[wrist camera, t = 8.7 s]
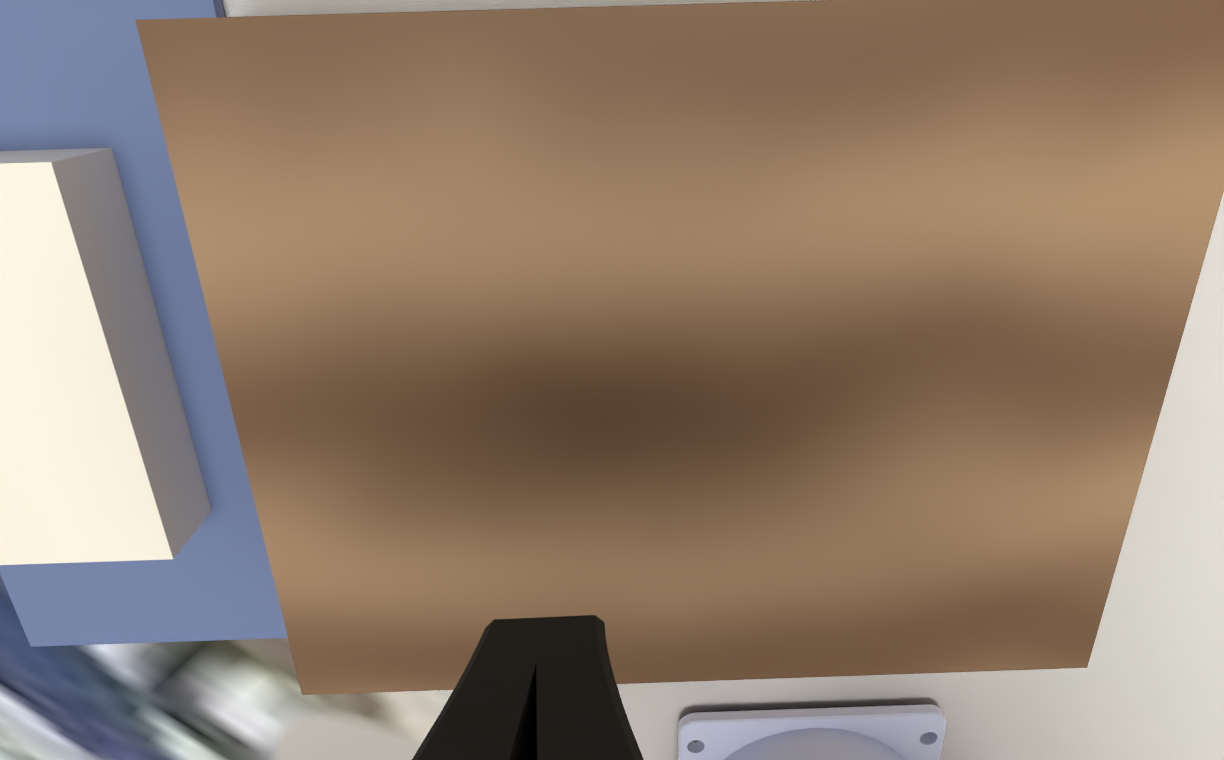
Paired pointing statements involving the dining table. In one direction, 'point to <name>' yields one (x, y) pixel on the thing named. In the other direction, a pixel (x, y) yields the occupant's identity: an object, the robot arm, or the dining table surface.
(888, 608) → the brown wooden slab
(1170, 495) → the dining table surface
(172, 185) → the mat
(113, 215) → the block
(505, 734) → the robot arm
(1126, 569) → the dining table surface
